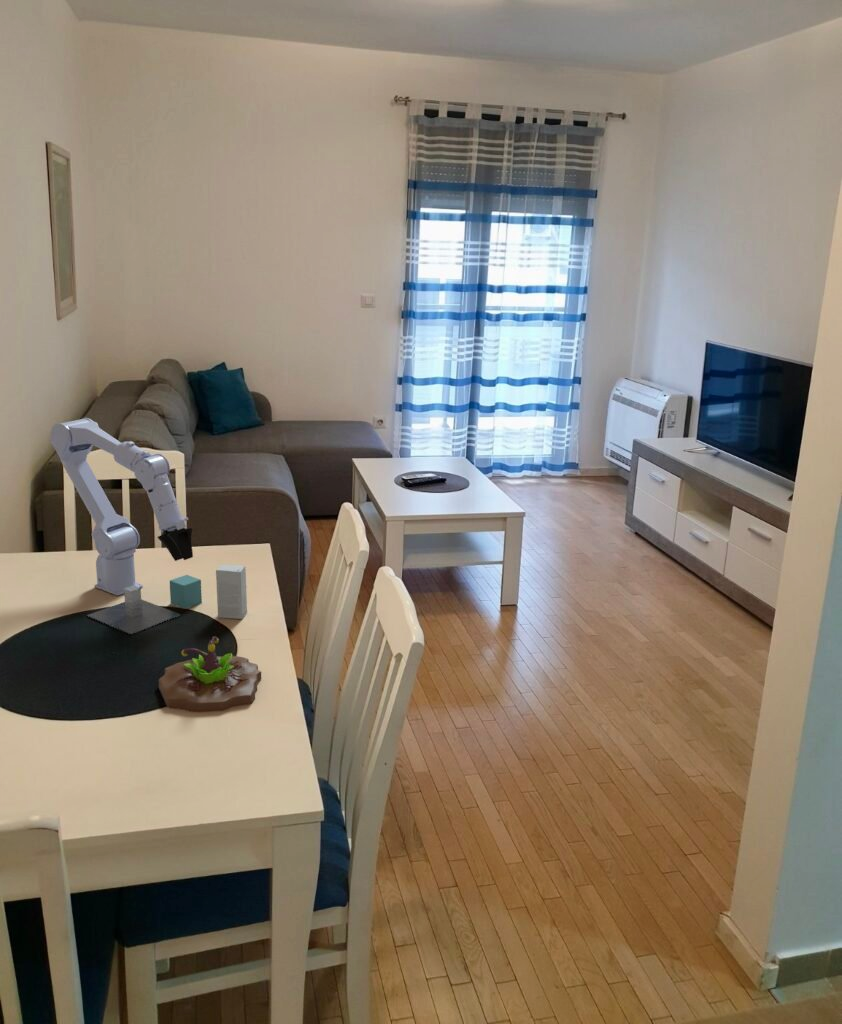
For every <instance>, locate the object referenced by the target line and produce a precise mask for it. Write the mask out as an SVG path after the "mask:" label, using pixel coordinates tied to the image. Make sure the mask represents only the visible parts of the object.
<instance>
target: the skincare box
mask: <svg viewBox="0 0 842 1024" xmlns="http://www.w3.org/2000/svg"><path fill="white" fill-rule="evenodd" d="M246 571H247V570H246V566H245V565H231V564H221V565H220V566H219V567H218V568H217V569H216V570H215V577H216V581H215V582H216V597H217V598H216V601H217V603H216V604H217V618H219V619H237V620H243V619H244V617H245V616H246V615H247V613H248V606H247V605H248V597H247V573H246Z"/></svg>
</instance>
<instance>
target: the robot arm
mask: <svg viewBox="0 0 842 1024" xmlns="http://www.w3.org/2000/svg"><path fill="white" fill-rule="evenodd" d="M49 441H50V442H51V445H52V447H53V448H54V450H55V452H56V454H57V456H58V457H59V459H60V462H61V464H62V466H63V468H64V469H65V471H66V473H67V475H68V477H69V478H70V480H71V483H72V484H73V486H74V487H75V489H76V492H77V493H78V494H79V497H80V498H81V500H82V502H83V503H84V506H85V507H86V510H87V511H88V512H89V515H90V516H91V518H92V520H93V521H94V523H95V526H94V528H93V530H92V532H91V537H92V539H93V540H94V541H93V542H94V545H95V549H96V551H97V553H98V555H97V557H96V560H95V572H96V583H97V584H94V585H93V586H94V588H97V589H99V590H102V591H104V592H107V593H109V594H113V595H114V596H121V595H123V594H124V588H127V587H130V586H136V587H139V588H143V587H144V585H143V584H141V583H138V582H137V581H136V571H135V567H136V566H135V555H134V553H136V552H137V550H136V549H137V548H138V546H139V545H140V541H141V538H140V537H141V536H140V533H139V532H138V529H137V528H136V527H135V526H134V525H132V524H131V523H130V521H129V519H128V518H127V517H125V516H122V515H119V514H117V512H116V511H115V509H114V507H113V506H112V503H111V502H110V500H109V499H108V496H107V495H106V492H105V491H104V489H103V488H102V485H101V484H100V483H99V480H98V479H97V477H96V475H95V473H94V472H93V469H92V468H91V466H90V464H89V463H88V461H87V459H88V455H89V454H90V453H91V452H92V449H93V447H95V448H98V449H100V450H102V451H104V452H106V453H108V454H109V455H112V456H113V459H114V461H115V462H116V463H117V464H118V465H120V466H122V467H124V468H126V469H127V470H129V471H131V472H132V473H134V477H135V479H136V480H137V481H138V482H139V483H140V484H141V485H142V488H143V489H144V491H146V493H147V496H148V499H149V502H150V504H151V507H152V511H153V513H154V516H155V518H156V522H157V524H158V530H159V531H160V532H161V535H159V536H157V539H158V540H159V541H160V542H161V543H162V544H163V545H164V546H165V547H166V549H167V551H168V552H169V554H170V556H171V557H172V558H173V560H174V561H175V562H177V561H179V560H184V561H186V560H190V559H192V558H193V557H194V552H193V546H192V534H193V526H189V527H187V524H186V521H189V517H184V518H183V516H182V512H181V510H180V508H179V505H178V501H177V499H176V498H177V497H176V496H175V492H174V490H173V487H172V485H171V481H170V480H169V476H168V475H169V474H170V469H171V467H170V463H169V461H168V459H167V457H165V456H164V455H163V454H162V453H155V454H152V453H150V451H148V450H144V449H142V448H140V447H139V446H138V445H136V444H135V442H134V441H132V440H131V441H130V440H129V441H123V442H121V441H119V440H118V439H117V438H115V437H113V436H112V435H111V434H109V433H108V432H106V431H104V430H103V429H102V428H101V427H99V424H98V422H96V421H94V420H92V419H91V418H89V417H83V418H81V419H76V420H71V421H66V422H57V423H55V424H53V426H52V427H51V431H50V438H49Z"/></svg>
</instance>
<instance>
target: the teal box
mask: <svg viewBox="0 0 842 1024" xmlns="http://www.w3.org/2000/svg"><path fill="white" fill-rule="evenodd" d="M169 596H170V597H169V598H170V605H173V606H177V607H178V606H179V608H180V609H184V610H186V609H188V608H192V607H194V606H197V605H199V603H200V604H202V603H203V602H202V601H203V600H202V598H203V597H202V580H201V579H200V578H197V577H194V576H191V575H189V574H185V575H182V576H179V577H176V578H173V579H171V580H169Z"/></svg>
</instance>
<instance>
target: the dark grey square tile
mask: <svg viewBox="0 0 842 1024" xmlns="http://www.w3.org/2000/svg"><path fill="white" fill-rule="evenodd" d="M141 588H142V587H141ZM141 588H139V587H136V586H130V587H127V588H124V601H123V602H121V603H117V604H114V605H112V606H109V607H106V608H103V609H100V610H98V611H95V612H92V613H89V614H87V615H86V617H87V616H88V617H87V618H89V617H90V619H93V620H94V619H95V620H94V621H96V620H97V622H99V621H100V622H99V623H101V622H102V624H104V623H105V624H104V625H106V624H107V625H106V626H108V625H109V627H111V628H113V627H114V628H113V629H115V628H116V630H118V629H119V630H118V631H120V630H121V631H120V632H122V631H123V633H125V632H126V633H125V634H127V633H128V635H130V634H132V635H134V634H133V633H135V634H137V633H140V632H142V630H143V631H145V630H148V629H150V628H153V627H156V626H157V624H158V625H160V624H159V623H161V624H163V623H165V622H164V621H166V622H168V621H171V620H173V619H172V618H174V619H176V618H179V617H181V614H180V613H179V612H175V611H173V610H170V609H168V608H166V607H163V606H159V605H157V604H154V603H152V602H150V601H148V600H144V599H142V592H141V591H142V590H141ZM178 616H179V617H178ZM175 617H176V618H175ZM170 619H171V620H170ZM167 620H168V621H167ZM162 622H163V623H162ZM155 625H156V626H155ZM152 626H153V627H152ZM144 629H145V630H144Z"/></svg>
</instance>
